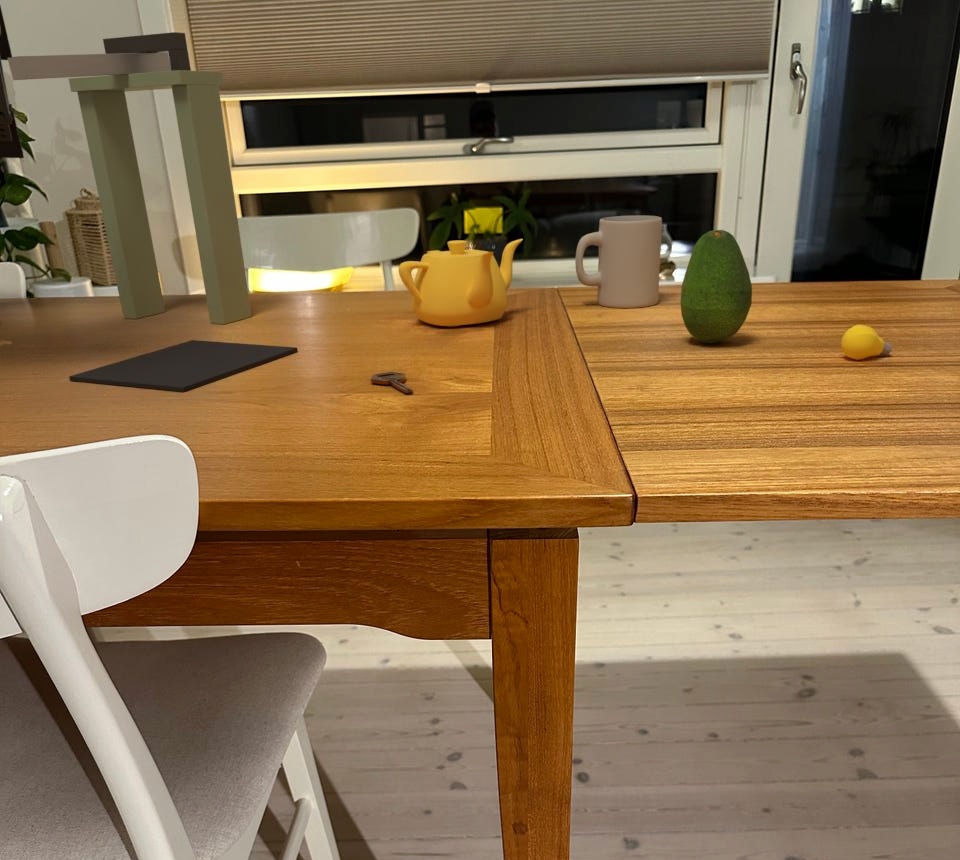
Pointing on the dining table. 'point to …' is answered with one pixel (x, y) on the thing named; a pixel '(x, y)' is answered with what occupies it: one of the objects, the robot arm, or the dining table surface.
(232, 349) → the mat
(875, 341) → the light bulb
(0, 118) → the robot arm
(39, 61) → the bar
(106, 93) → the stand
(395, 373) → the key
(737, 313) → the fruit
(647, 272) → the mug
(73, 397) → the dining table surface
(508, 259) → the teapot
